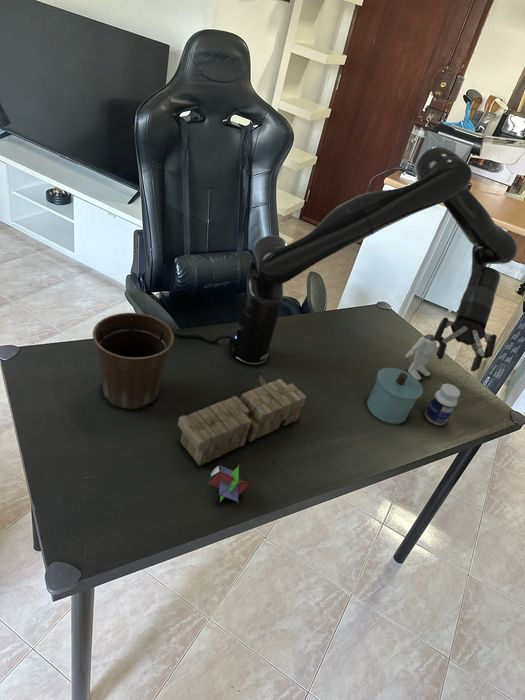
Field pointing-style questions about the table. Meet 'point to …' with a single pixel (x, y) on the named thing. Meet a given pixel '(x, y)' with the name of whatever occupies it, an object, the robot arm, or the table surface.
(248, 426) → the block tower
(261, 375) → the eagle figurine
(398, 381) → the pot
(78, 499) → the table surface
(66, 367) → the table surface
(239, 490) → the geometric puzzle
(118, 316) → the plant pot
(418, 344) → the toy creature
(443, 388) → the pill bottle
